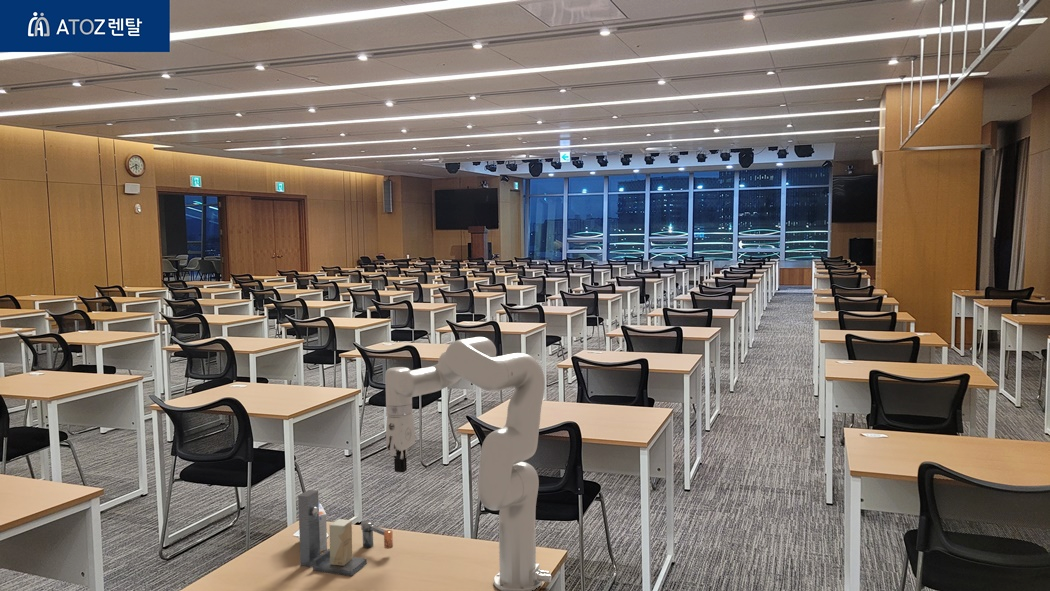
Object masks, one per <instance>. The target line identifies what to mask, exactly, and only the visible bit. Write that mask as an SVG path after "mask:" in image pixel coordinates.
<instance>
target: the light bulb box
mask: <svg viewBox="0 0 1050 591" xmlns="http://www.w3.org/2000/svg"><path fill="white" fill-rule="evenodd" d="M327 526H328V525H327V512H326V511H325V508H324V507H323V505H322V503H319V534H320V552H323V551H324V552H325V551H326V550H328V535H327V534H328V533H327V532H328V531H327V530H328V528H327Z"/></svg>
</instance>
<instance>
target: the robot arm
mask: <svg viewBox="0 0 1050 591" xmlns="http://www.w3.org/2000/svg"><path fill="white" fill-rule="evenodd" d="M544 374H545V373H544V371H543V369H542V366H541V365H540V363H539V362H538V361H537V359H536V358H535V357H533V356H532V355H530V354H527V353H523V352H514V353H513V352H512V353H508V354H503V355H498V356H497V348H496V345H495V343H494V342H493V341H492V340H491V339H489V338H487V337H484V336H475V337H470V338H469V337H468V338H461V339H457V340H454V341H453V342H451V343H450V344H449V346H448V347H447V348H446V351H444V352H442V353H441V355H440V356H439V358H438V360H437V363H436V364H434V365H432V366H427V367H421V368H416V369H410V368H409V367H405V366H398V367H397V366H396V367H390V368H387V369H386V371H385V381H384V382H385V409H386V411H385V413H386V424H385V426H386V428H385V445H386V449H387V450H388V451H389V456H391V457H392V459H393V461H394V462H393V464H394V472H396V473H405V472H407V471H408V464H407V462H408V461H407V457H408V450H409V448H410V447H412V446H413V445H415V443H416V430H415V428H416V427H415V421H414V414H413V398H414V397H419V396H420V397H421V396H423V395H428V394H432V393H436V392H439V391H441V390H444V389H446V388H448V387H451V386H452V385H454V384H456V383H457V382H458V381H459V380H461V379H464V380H466V382H467V381H468V382H469V383H471V384H473V385H474V386H476V387H478V388H479V389H481V390H484V391H487V392H492V393H493V392H494V393H495V392H499V391H503V390H507V389H512V388H514V391H513V393H512V396H511V398H510V399H509V403H508V406H507V414H506V422H505V425H504V426H503V427H500V428H498V429H495V430H493V431H492V432H490V433H488V434H487V436H486V437H485V438H484V440H483V442H482V445H481V449H480V455H479V467H478V476H477V493H478V498H479V500H480V501H479V502H480V503H481V504H482V505H483V507H485V508H486V509H487V510H490V511H499V513H498V541H499V543H498V545H499V547H498V548H499V552H498V553H499V559H498V560H499V572H498V573H496V574H495V575H494V577H493V584H494V585H493V586H495V588H496V589H498V590H499V591H532V590H533V591H535V589H536V588H537V589H539V588H540V587H541V586H542V584H543V583H552V574H550V571H549V570H542V569H541V568H540V563H537V561H536V558H537V555H536V554H537V552H536V550H537V549H536V548H537V547H536V543H537V542H536V533H537V532H536V521H537V520H536V517H537V516H536V510H537V507H536V506H537V500H538V499H537V498H538V493H539V492H538V491H539V486H540V485H539V483H540V480H539V475H538V472H537V470H536V468H534V466H533V465H531V464H530V463H528V462H526V461H527V460H529V459H530V458H532V457H533V456H534V455H535V454H536V451H537V449H538V444H539V443H538V442H539V435H540V434H539V432H540V426H541V425H540V424H541V423H540V422H541V415H542V414H541V413H542V405H543V398H544V394H545V389H546V388H545V387H546V383H545V382H546V380H545V375H544ZM539 586H540V587H539ZM538 587H539V588H538ZM537 589H536V590H537Z"/></svg>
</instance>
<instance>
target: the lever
mask: <svg viewBox="0 0 1050 591" xmlns="http://www.w3.org/2000/svg"><path fill="white" fill-rule="evenodd" d="M374 522H375V521H373V520H364V521H361V523H360V528H361V531H362V530H363V531H370V530H372V531H373V533H374V532H375V533H377V534H379V535H382V536H383V545H384V546H383V548H384V549H385V550H387V549H392V548H393V547H394V540H393V539H394V537H393V530H392V529H384V528H381V527H378V526H377V525H374V524H375V523H374Z"/></svg>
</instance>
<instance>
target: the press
mask: <svg viewBox="0 0 1050 591" xmlns="http://www.w3.org/2000/svg"><path fill="white" fill-rule="evenodd" d="M297 496H298V497H297V501H298V502H297V503H298V525H299V528H298V529H299V554H300V555H299V556H300V560H299V561H300V567H303V568H312V572H318V573H319V572H320V573H326V574H332V575H333V574H334V575H338V576H346V577H353V576H354V575H356V573H358V572H359V571H360V570H362V569H363V568H364V567H365V566H367V565H368V560H367V558H364V557H355V556H352V560H350V561H349V562H348V563H347V564H345V565H344V566H341V565H332V564H330V548H327V550H324V552H322V553H321V551H320V534H319V504H320V503H319V490H315V489H308V490H306V491H304V492H302V493H300V494H298V495H297Z"/></svg>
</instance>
